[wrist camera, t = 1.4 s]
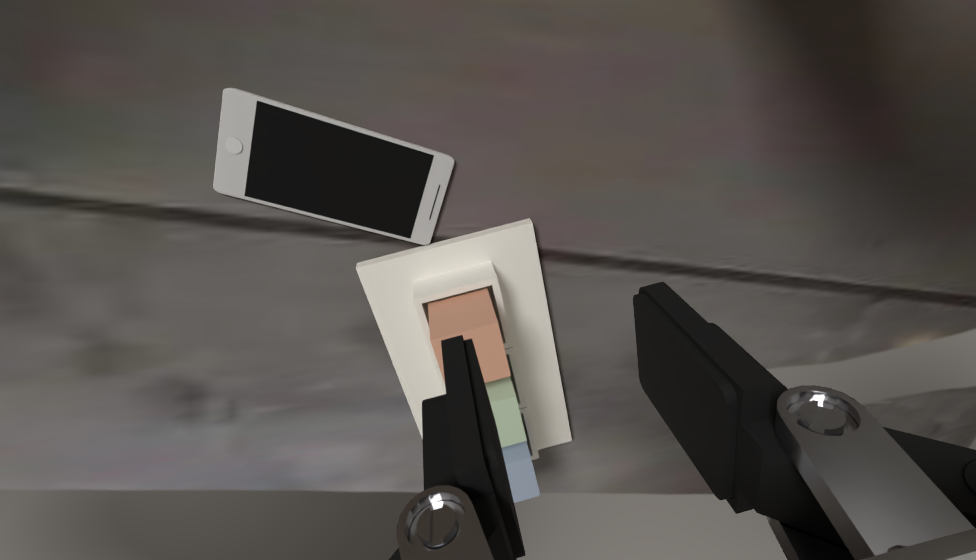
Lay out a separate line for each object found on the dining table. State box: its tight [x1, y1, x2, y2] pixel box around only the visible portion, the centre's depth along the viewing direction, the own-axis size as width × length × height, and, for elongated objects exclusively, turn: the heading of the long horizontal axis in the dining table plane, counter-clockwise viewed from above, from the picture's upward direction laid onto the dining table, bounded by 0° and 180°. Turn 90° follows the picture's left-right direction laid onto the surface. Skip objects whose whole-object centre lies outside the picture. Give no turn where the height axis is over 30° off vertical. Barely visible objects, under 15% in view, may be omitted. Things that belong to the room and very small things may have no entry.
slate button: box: [502, 441, 540, 503], centre depth 40 cm, size 5×5×5 cm
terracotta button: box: [428, 288, 511, 383], centre depth 34 cm, size 5×5×5 cm
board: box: [356, 218, 572, 460], centre depth 40 cm, size 14×24×4 cm, turn 12°
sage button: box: [485, 376, 527, 448], centre depth 37 cm, size 5×5×5 cm
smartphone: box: [213, 88, 454, 245], centre depth 33 cm, size 7×15×1 cm, turn 71°
